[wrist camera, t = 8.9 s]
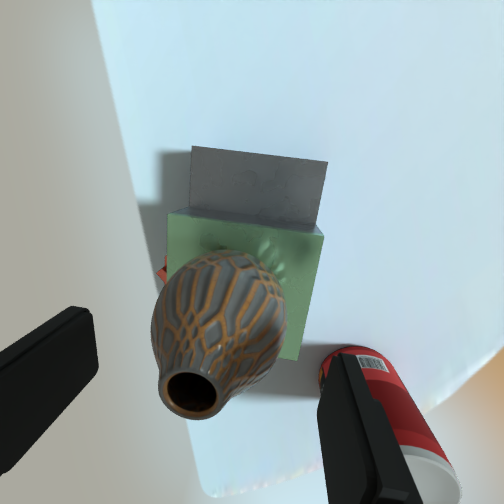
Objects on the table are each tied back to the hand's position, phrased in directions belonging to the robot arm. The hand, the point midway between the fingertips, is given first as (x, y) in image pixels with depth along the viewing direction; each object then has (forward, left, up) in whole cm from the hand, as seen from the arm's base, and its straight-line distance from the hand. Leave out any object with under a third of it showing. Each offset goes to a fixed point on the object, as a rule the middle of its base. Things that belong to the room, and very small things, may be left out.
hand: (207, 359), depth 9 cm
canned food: (+13, +13, -16) cm, 24 cm away
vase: (+1, 0, -8) cm, 8 cm away
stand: (-1, 0, -16) cm, 16 cm away
